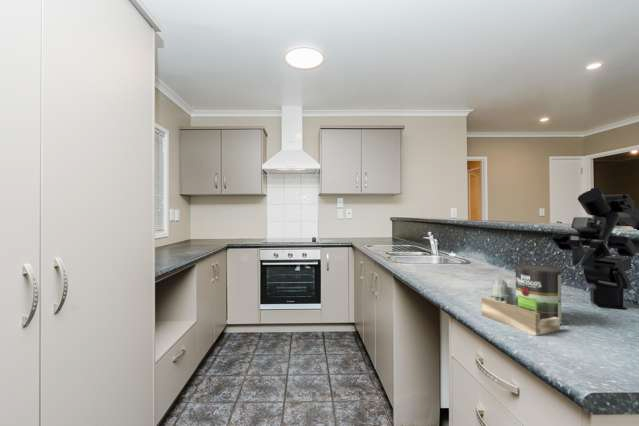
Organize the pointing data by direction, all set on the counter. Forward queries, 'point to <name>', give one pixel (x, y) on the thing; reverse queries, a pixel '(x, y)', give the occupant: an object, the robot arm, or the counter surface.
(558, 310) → the dark container
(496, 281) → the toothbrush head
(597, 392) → the counter surface
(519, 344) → the counter surface
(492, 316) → the maple cradle
